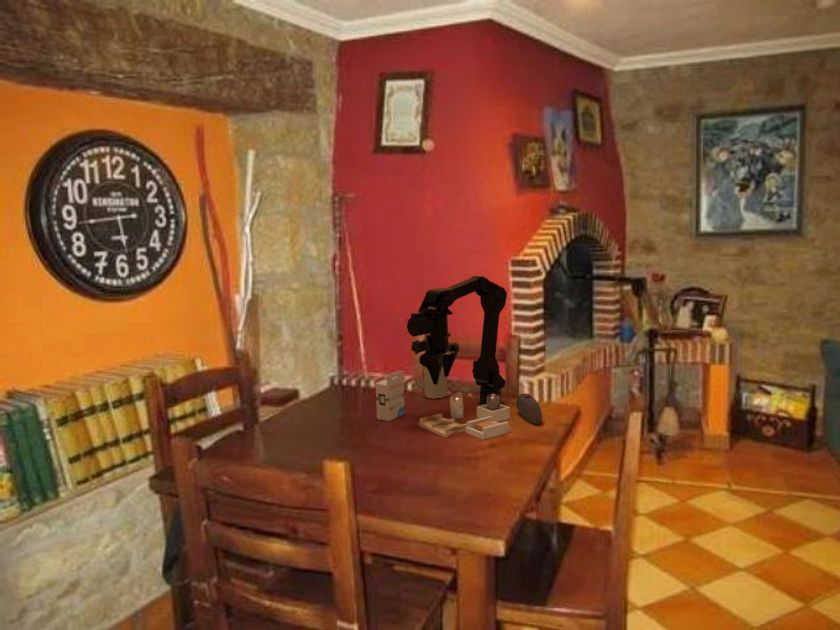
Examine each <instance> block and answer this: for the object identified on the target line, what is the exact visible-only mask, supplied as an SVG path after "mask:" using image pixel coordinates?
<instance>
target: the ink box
mask: <svg viewBox="0 0 840 630" xmlns="http://www.w3.org/2000/svg"><path fill="white" fill-rule="evenodd" d="M396 376H397V377H396ZM385 378H386V379H384V380H381V381H378V382H375V400H376V401H375V404H376V419H377V420H381V421H386V422H391V421H392V420H394V419H397V418H400V417H402V416H404V415H405V414H406V411H405V410H406V408H405V389H404V388H405V384H404V371H403V370H399V371H395V372H393V373H390V374H387V375H386V377H385Z"/></svg>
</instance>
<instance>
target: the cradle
mask: <svg viewBox="0 0 840 630" xmlns="http://www.w3.org/2000/svg"><path fill="white" fill-rule="evenodd" d="M486 421H490V422H493V423H495V425H491V426H488V427H484V428H482V432H481V431H478V430H476V424H479V423H483V422H486ZM466 424H467V427H465V431H464V432H465V433H466V434H469V435H471V436H474V437H475V438H476V437H477V438H478V439H480V440H486V439H490V438H494V437H498V436H501V435H505V434H510V432H511V427H510V424H509V421H502V422H495V421H493V417H492V416H488V417H484V418H480V419H479V418H476V419H472V420H469V421H466Z"/></svg>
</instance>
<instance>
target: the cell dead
mask: <svg viewBox="0 0 840 630" xmlns="http://www.w3.org/2000/svg"><path fill="white" fill-rule="evenodd" d="M487 409H488V410H491V411H495V410H499V409H500V396H499V395H496V394H494V393H492V394H490V395H487Z"/></svg>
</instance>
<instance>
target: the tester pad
mask: <svg viewBox="0 0 840 630" xmlns="http://www.w3.org/2000/svg"><path fill="white" fill-rule="evenodd" d="M491 425H495V423H493V422H490V421H486V422H483V423H479V424H476V430H478V431H481V432H482V428H484V427H488V426H491Z"/></svg>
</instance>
